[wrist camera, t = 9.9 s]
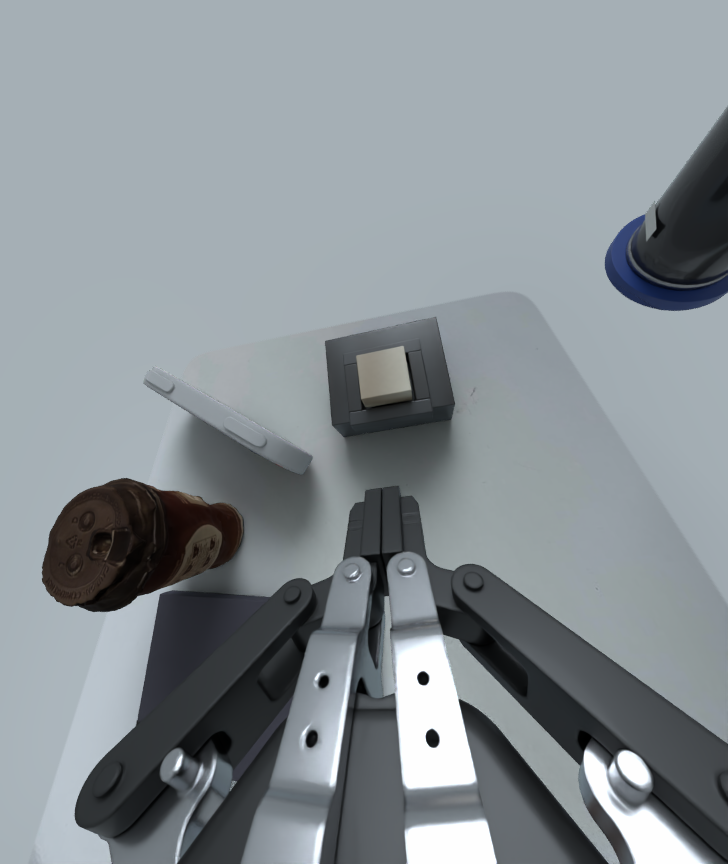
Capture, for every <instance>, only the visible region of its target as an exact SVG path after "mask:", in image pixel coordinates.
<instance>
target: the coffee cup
mask: <svg viewBox="0 0 728 864" xmlns="http://www.w3.org/2000/svg"><path fill="white" fill-rule="evenodd" d="M242 535H243V519H242V516H241V515H240V514H239V513H238V511H237V509H236V508H234V507H232V506H231V505H230V504H226V503H216V504H212V505H209V504H207V503H206V502H204V501H203V499H202V498H201V497H199V496H192V495H188V494H186V493H182V492H179V491H162V490H158V489H156V488H155V487H153V486H150V485H146V484H144V483H141V482H137V481H134V480H131V479H128V478H121V479H118V480H113V481H110V482H108V483H106V484H104V485H102V486H98V487H93V488H90V489H87V490H85V491H83V492H81V493H79V494H78V495H77V496H76V497H74V498H73V499H72V500H71V501H70V502H69V503H68V504H67V505H66V506H65V507H64V508H63V510H62V512H61V514H60V515H59V516H58V518H57V520H56V522H55V524H54V526H53V528H52V529H51V531H50V534H49V543H48V548H47V551H46V554H45V558H44V562H43V566H42V569H43V571H42V575H43V578H42V582H43V583H44V585H45V587H46V590H47V591H48V593H50V595H51V596H53V597H54V598H55V600H56V601H57V602H60V603H62V604H63V605H66V606H71V607H72V606H79V607H81V608H84V609H86V610H88V611H92V612H99V611H100V612H109V611H116V610H118V609H121V608H123V607H125V606H127V605H129V604H130V603H131V602H132V601H134V600H135V599H136V597H137V596H140V595H144V594H149V593H152V592H154V591H156V590H158V589H161V588H164V587H167V586H170V585H173V584H175V583H178V582H180V581H182V580H184V579H188V578H190V577H193V576H195V575H198V574H200V573H203V572H204V571H206V570H207V569H213V568H217V567H219V566H221V565H223V564H225V563H226V562H228V561H229V560H231V558H232V557H233V556H234V554H235V553H236V552H237V550H238V548H239V545H240V543H241V539H242Z"/></svg>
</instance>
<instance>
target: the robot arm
mask: <svg viewBox="0 0 728 864" xmlns="http://www.w3.org/2000/svg"><path fill="white" fill-rule="evenodd" d="M626 259H627V262H628V264H629V266H630V268H631V269H632V271H633V272H634V273H635V274H636V275H637V276H638V277H640V278H641V279H643V280H644V281H646V282H648V283H650V284H652V285H654V286H657V287H660V288H664V289H669V290H676V291H689V290H697V289H702V288H705V287H708V286H711V285H713V284H715V283H717V282H719V281H720V280H722V279H723V278H724V277H726V276H727V275H728V107H727V108H726V109H725V110H724V112H723V113H722V115H721V116H720V117H719V119H718V120H717V121H716V123H715V124H714V126H713V127H712V128H711V130H710V131H709V133H708V134H707V135H706V137H705V138H704V139H703V141H702V142H701V143H700V145H699V146H698V147H697V149H696V150H695V152H694V153H693V154H692V156H691V157H690V159H689V160H688V161H687V163H686V164H685V165H684V167H683V168H682V169H681V171H680V172H679V174H678V175H677V176H676V178H675V179H674V180H673V182H672V183H671V184H670V186H669V187H668V189H667V190H666V191H665V193H664V194H663V196H662V197H661V198H660V200H659V201H658V202H657V203H656V205H655V201H654V203H653V204H652V205H651V207H650V208H649V210H648V211H647V213H646V214H645V220H644V221H643V223H642V224H641V225H640V226H639V227H638V228H637V229H636V231H635V232H634V233H633V235H632V236H631V237H630V239H629V241H628V243H627V246H626ZM384 596H389V600H390V611H391V622H392V628H391V629H390V639H391V651H392V663H393V675H394V686H395V693H393V694H391V695H388V696H385V697H383V688H382V678H381V672H382V657H383V643H384V629H385V612H384ZM443 635H446V636H450V637H453V638H456V639H459V640H460V642H461V643H462V645H463V646H464V647H465V648H466V649H467V650H468V651H469V652H470V653H471V654H472V655H473V656H474V657H475V658H476V659H477V660H478V661H479V662H480V663H481V664H482V665H483V666H484V667H485V669H486V670H487V671H488V672H489V673H490V674H491V675H492V676H493V677H494V678H495V679H496V680H497V681H498V682H499V683H500V684H501V685H502V686H503V687H504V688H505V689H506V690H507V691H508V692H509V693H510V694H511V695H512V696H513V697H514V698H515V699H516V700H517V701H518V702H519V703H520V704H521V705H522V707H523V708H524V709H525V710H526V711H527V712H528V713H529V714H530V715H531V716H532V717H533V718H534V719H535V720H536V721H537V722H538V723H539V724H540V725H541V726H542V727H543V728H544V729H545V730H546V731H547V732H548V733H549V734H550V735H551V736H552V737H553V738H554V739H555V740H556V741H557V742H558V743H559V745H560V746H561V747H562V748H563V749H564V750H565V751H566V752H567V753H568V754H569V755H570V756H571V757H572V758H573V759H574V760H575V761H576V762H577V763H578V764H579V765H580V768H579V774H578V781H579V788H580V792H581V795H582V798H583V801H584V803H585V805H586V807H587V809H588V811H589V813H590V815H591V816H592V818H593V819H594V821H595V822H596V824H597V825H598V826H599V828H600V829H601V830H602V832H603V833H604V834H605V836H606V837H607V839H608V840H609V842H610V843H611V845H612V847H613V849H614V851H615V853H616V855H617V857H618V859H619V862H620V864H728V744H727V743H726V742H724V741H723V740H722V739H720V738H719V737H717V736H716V735H715V734H713V733H712V732H711V731H709V730H708V729H706V728H705V727H704V726H702V725H701V724H700V723H698V722H697V721H695V720H694V719H693V718H691V717H690V716H688V715H687V714H686V713H684V712H683V711H682V710H680V709H679V708H677V707H676V706H675V705H673V704H672V703H671V702H669V701H668V700H666V699H665V698H664V697H662V696H661V695H660V694H658V693H657V692H655V691H654V690H653V689H651V688H650V687H649V686H647V685H646V684H644V683H643V682H642V681H640V680H639V679H637V678H636V677H635V676H633V675H632V674H631V673H629V672H628V671H626V670H625V669H624V668H622V667H621V666H620V665H618V664H617V663H615V662H614V661H613V660H611V659H610V658H609V657H607V656H606V655H604V654H603V653H602V652H600V651H599V650H598V649H596V648H595V647H593V646H592V645H591V644H589V643H588V642H586V641H585V640H584V639H582V638H581V637H580V636H578V635H577V634H575V633H574V632H573V631H571V630H570V629H569V628H567V627H566V626H564V625H563V624H562V623H560V622H559V621H558V620H556V619H555V618H553V617H552V616H551V615H549V614H548V613H547V612H545V611H544V610H542V609H541V608H540V607H538V606H537V605H535V604H534V603H533V602H531V601H530V600H529V599H527V598H526V597H524V596H523V595H522V594H520V593H519V592H518V591H516V590H515V589H513V588H512V587H511V586H509V585H508V584H507V583H505V582H504V581H502V580H501V579H500V578H498V577H497V576H496V575H494V574H493V573H491V572H490V571H489V570H487V569H486V568H484V567H482V566H479V565H475V564H465V565H462V566H460V567H458V568H457V569H456V570H455V571H452V570H447V569H443V568H440V567H437V566H436V565H434V564H433V563H432V562H430V560H429V559H428V558H427V556H426V550H425V543H424V536H423V529H422V524H421V518H420V512H419V506H418V503H417V501H416V500H415V499H414V498H413V496H406V497H401V493H400V488H399V486H392V487H385V488H383V490H382V488H378V489H370V490H366V491H365V501H364V502H359V503H355V505H354V506H353V508H352V509H351V511H350V515H349V523H348V531H347V536H346V543H345V550H344V557H343V561H342V562H341V563H340V564H339V565H338V566H337V567H336V569H335V571H334V574H333V575H332V576H331V577H329V578H327V579H325V580H323V581H320V582H318V583H315V584H313V585H311V584H310V582H309V581H307V580H306V579H302V578H297V579H293V580H291V581H289V582H287V583H285V584H284V585H283V586H282V587H281V588H280V589H279V590H278V591H277V592H276V593H275V594H274V595H272V596H271V597H270V598H269V599H268V600H267V601H266V602H265V603H264V604H263V605H262V606H261V607H260V608H259V609H258V610H257V611H256V612H255V613H254V614H253V615H252V616H251V617H249V618H248V619H247V620H246V621H245V622H244V623H243V624H242V625H241V626H240V627H239V628H238V629H237V630H236V631H235V632H234V633H233V634H232V635H231V636H230V637H229V638H228V639H226V640H225V641H224V642H223V643H222V644H221V645H220V646H219V647H218V648H217V649H216V650H215V651H214V652H213V653H212V654H211V655H210V656H209V657H208V658H207V659H206V660H205V661H203V662H202V663H201V664H200V665H199V666H198V667H197V668H196V669H195V670H194V671H193V672H192V673H191V674H190V675H189V676H188V677H187V678H186V679H185V680H184V681H183V682H182V683H180V684H179V685H178V686H177V687H176V688H175V689H174V690H173V691H172V692H171V693H170V694H169V695H168V696H167V697H166V698H165V699H164V700H163V701H162V702H161V703H160V704H159V705H157V706H156V707H155V708H154V709H153V710H152V711H151V712H150V713H149V714H148V715H147V716H146V717H145V718H144V719H143V720H142V721H141V722H140V723H139V724H138V725H137V726H136V727H135V728H133V729H132V730H131V731H130V732H129V733H128V734H127V735H126V736H125V737H124V738H123V739H122V740H121V741H120V742H119V743H118V744H117V745H116V746H115V747H114V748H113V749H112V750H110V751H109V752H108V753H107V754H106V755H105V756H104V757H103V758H102V759H101V760H100V762H99V763H98V764H97V765H96V766H95V768H94V769H93V770H92V772H91V773H90V775H89V776H88V778H87V780H86V781H85V783H84V785H83V787H82V789H81V791H80V794H79V796H78V799H77V802H76V807H75V820H76V823H77V824H78V826H80V827H82V828H84V829H86V830H89V831H91V832H93V833H96V834H98V835H99V837H100V838H101V839H103V840H105V841H107V842H108V844H109V849H110V855H111V862H112V864H609V863H608V862H607V861H606V860H605V859H604V857H603V856H602V855H601V854H600V852H599V851H598V850H597V849H596V847H595V846H594V845H593V844H592V843H591V841H590V840H589V839H588V838H587V836H586V835H585V834H584V833H583V832H582V830H581V829H580V828H579V827H578V825H577V824H576V823H575V822H574V820H573V819H572V818H571V817H570V816H569V814H568V813H567V812H566V811H565V809H564V808H563V807H562V806H561V804H560V803H559V802H558V801H557V800H556V798H555V797H554V796H553V795H552V793H551V792H550V791H549V790H548V789H547V787H546V786H545V785H544V784H543V782H542V781H541V780H540V779H539V777H538V776H537V775H536V774H535V773H534V771H533V770H532V769H531V768H530V766H529V765H528V764H527V763H526V761H525V760H524V759H523V758H522V757H521V755H520V754H519V753H518V752H517V750H516V749H515V748H514V747H513V746H512V744H511V743H510V742H509V741H508V739H507V738H506V737H505V736H504V734H503V733H502V732H501V731H500V730H499V728H498V727H497V726H496V725H495V724H494V723H493V722H492V721H491V720H490V719H489V718H488V717H487V716H486V715H484V714H483V713H482V712H481V711H479V710H478V709H477V708H475V707H473V706H472V705H470V704H469V703H467V702H464V701H462V700H460V699H458V697H457V692H456V688H455V684H454V679H453V675H452V671H451V666H450V662H449V658H448V653H447V649H446V645H445V641H444V636H443ZM293 695H294V696H293ZM292 696H293V700H292V703H291V707H290V711H289V715H288V717H287V718H286V719H285V720H284V721H283V722H282V723H281V724H280V725H279V726H278V727H277V729H276V730H275V731H274V733H273V734H272V735H271V737H270V738H269V739H268V741H267V742H266V743H265V745H264V746H263V748H262V749H261V750H260V752H259V753H258V754H257V756H256V757H255V758H254V760H253V761H252V762H251V764H250V765H249V767H248V768H247V769H246V771H245V772H244V773H243V775H242V776H241V777H240V779H239V780H238V781H237V783H236V784H235V786H234V787H233V788H232V790H231V791H230V788H231V783H232V777H233V770H234V769H235V768H236V767H237V765H238V764H239V763H240V762H241V760H242V759H243V758H244V757H245V755H246V754H247V753H248V751H249V750H250V749H251V748H252V746H253V745H254V744H255V743H256V741H257V740H258V739H259V738H260V736H261V735H262V734H263V733H264V731H265V730H266V729H267V728H268V726H269V725H270V724H271V723H272V721H273V720H274V719H275V718H276V716H277V715H278V714H279V712H280V711H281V710H282V709H283V707H284V706H285V705H286V704H287V702H288V701H289V700H290V699H291V697H292Z"/></svg>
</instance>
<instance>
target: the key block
mask: <svg viewBox="0 0 728 864" xmlns="http://www.w3.org/2000/svg"><path fill="white" fill-rule="evenodd" d="M325 346H326V358H327V370H328V381H329V393H330V405H331V417H332V426H333V427H334V428H335V429H336V430H337V431H339V432H340V433H341V434H342V435H343V436H344V437H347V436H353V435H359V434H365V433H371V432H377V431H383V430H390V429H396V428H402V427H408V426H414V425H420V424H426V423H432V422H438V421H444V420H450V419H451V418H452V414H453V410H454V406H455V402H454V397H453V392H452V388H451V383H450V379H449V374H448V369H447V365H446V360H445V356H444V351H443V346H442V342H441V337H440V333H439V328H438V323H437V319H436V317H433V318H428V319H423V320H419V321H414V322H410V323H405V324H401V325H396V326H392V327H387V328H382V329H378V330H373V331H369V332H364V333H360V334H355V335H350V336H346V337H341V338H337V339H332V340H328V341H325ZM400 346H404V350H405V356H406V361H407V367H408V373H409V379H410V384H411V390H412V400H408V401H403V402H397V403H391V404H386V405H380V406H375V407H369V408H366V407H365V405H364V403H363V401H362V400H361V394H360V385H359V377H358V368H357V360H356V356H357V355H362V354H367V353H371V352H376V351H381V350H386V349H391V348H395V347H400Z"/></svg>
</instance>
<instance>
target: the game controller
mask: <svg viewBox="0 0 728 864" xmlns="http://www.w3.org/2000/svg"><path fill="white" fill-rule="evenodd" d="M143 383H144V384H145V385H146V386H147V387H149V388H151V389H152V390H154V391H155V392H157V393H159V394H160V395H162V396H163V397H165V398H167V399H168V400H170V401H171V402H173V403H175V404H176V405H178V406H180V407H181V408H183V409H184V410H186V411H188V412H189V413H191V414H193V415H194V416H196V417H197V418H199V419H201V420H202V421H204V422H205V423H207V424H209V425H210V426H212V427H214V428H215V429H217V430H218V431H220V432H222V433H223V434H225V435H227V436H228V437H230V438H231V439H233V440H235V441H236V442H238V443H240V444H241V445H243V446H245V447H246V448H248V449H249V450H251V451H252V452H254V453H256V454H258V455H260V456H262V457H264V458H266V459H267V460H269V461H271V462H273V463H275V464H276V465H278V466H280V467H283V468H285V469H287V470H289V471H292V472H294V473H297V474H303V473H304V472H305V470H306V469H307V467H308V465H309V464H310V462H311V460H312V458H313V456H312V455H310V454H309V453H307V452H305V451H304V450H302V449H300V448H298V447H297V446H295V445H293V444H292V443H290V442H288V441H286V440H285V439H283V438H281V437H279V436H278V435H276V434H274V433H272V432H271V431H269V430H267V429H265V428H264V427H262V426H260V425H258V424H257V423H255V422H253V421H251V420H250V419H248V418H246V417H245V416H243V415H241V414H239V413H238V412H236V411H234V410H232V409H231V408H229V407H227V406H225V405H224V404H222V403H220V402H219V401H217V400H215V399H213V398H212V397H210V396H208V395H206V394H205V393H203V392H201V391H199V390H198V389H196V388H194V387H192V386H191V385H189V384H187V383H185V382H184V381H182V380H180V379H178V378H177V377H175V376H173V375H171V374H170V373H168V372H166V371H164V370H162V369H161V368H159V367H157V366H155V367H153V368H152V370H149V371H148V372H147V374H146V375H145V379H144V381H143Z"/></svg>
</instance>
